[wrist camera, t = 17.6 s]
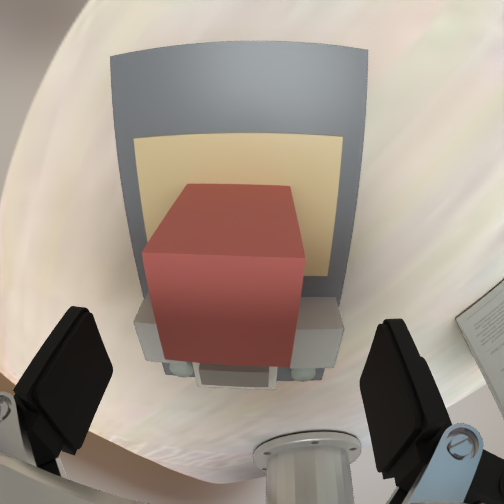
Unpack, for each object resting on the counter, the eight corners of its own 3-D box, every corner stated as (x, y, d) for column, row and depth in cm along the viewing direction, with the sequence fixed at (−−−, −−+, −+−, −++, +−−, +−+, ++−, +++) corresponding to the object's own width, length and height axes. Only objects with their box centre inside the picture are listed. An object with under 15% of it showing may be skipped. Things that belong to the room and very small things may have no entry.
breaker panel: (318, 359, 22) (325, 409, 18) (171, 354, 23) (157, 402, 19) (355, 53, 12) (389, 44, 8) (127, 58, 13) (81, 54, 9)
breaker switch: (274, 341, 18) (275, 397, 15) (206, 339, 18) (195, 393, 15) (277, 301, 17) (279, 359, 13) (201, 299, 17) (187, 356, 13)
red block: (283, 272, 16) (290, 366, 11) (193, 269, 16) (164, 359, 11) (290, 185, 14) (305, 258, 8) (187, 183, 14) (141, 252, 9)
